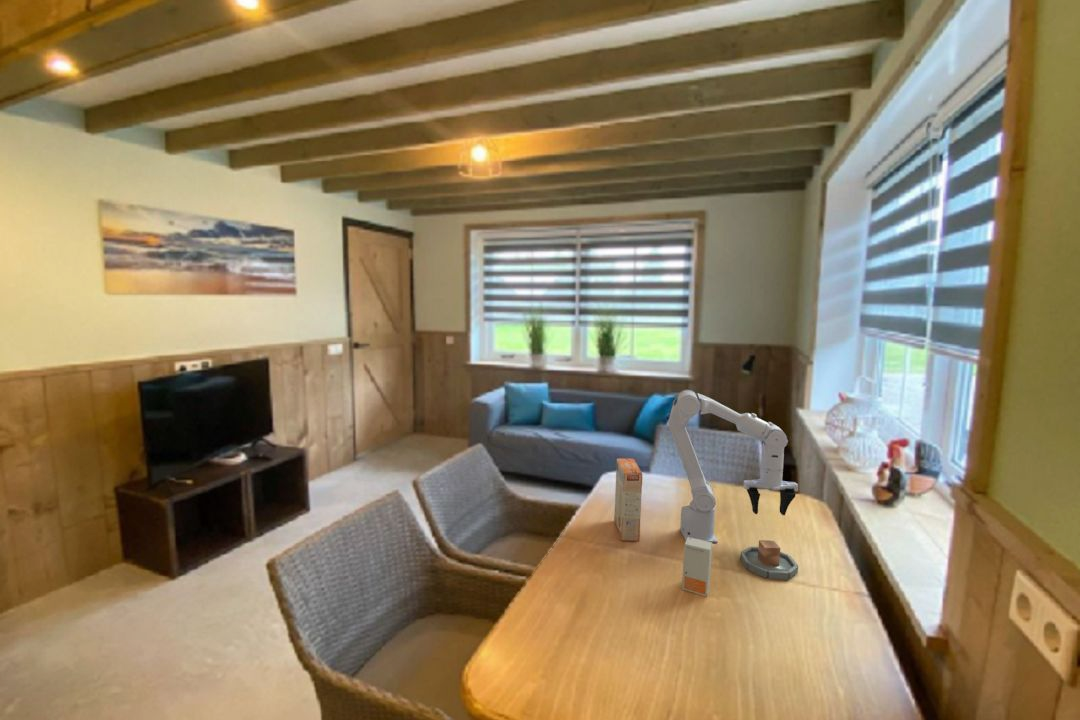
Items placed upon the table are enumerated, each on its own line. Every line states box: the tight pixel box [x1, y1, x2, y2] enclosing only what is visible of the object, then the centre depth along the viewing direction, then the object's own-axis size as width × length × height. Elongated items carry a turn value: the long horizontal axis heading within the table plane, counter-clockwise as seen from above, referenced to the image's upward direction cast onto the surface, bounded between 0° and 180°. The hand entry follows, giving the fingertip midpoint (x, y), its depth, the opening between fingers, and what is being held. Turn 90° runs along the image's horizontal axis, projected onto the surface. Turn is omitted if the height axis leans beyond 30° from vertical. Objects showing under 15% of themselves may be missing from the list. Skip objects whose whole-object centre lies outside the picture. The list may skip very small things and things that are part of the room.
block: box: [757, 539, 781, 566], centre depth 127 cm, size 4×4×5 cm
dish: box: [739, 546, 799, 581], centre depth 127 cm, size 13×13×2 cm
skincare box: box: [681, 537, 714, 597], centre depth 115 cm, size 6×4×12 cm
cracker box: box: [613, 458, 644, 542], centre depth 145 cm, size 14×6×21 cm, turn 179°
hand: (768, 513), depth 138 cm, fingers open, 7 cm apart
